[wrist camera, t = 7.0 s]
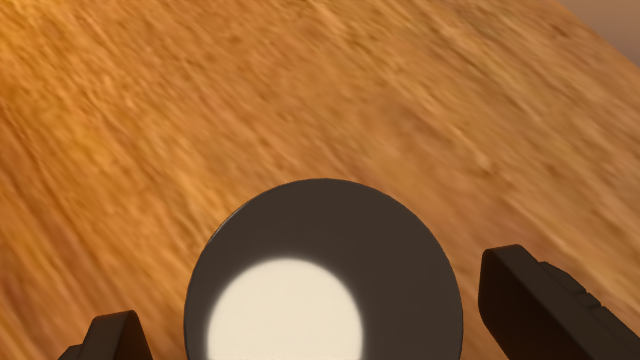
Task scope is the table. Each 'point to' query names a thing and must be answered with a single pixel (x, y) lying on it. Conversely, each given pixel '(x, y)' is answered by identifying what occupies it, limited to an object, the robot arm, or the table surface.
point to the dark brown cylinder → (323, 281)
